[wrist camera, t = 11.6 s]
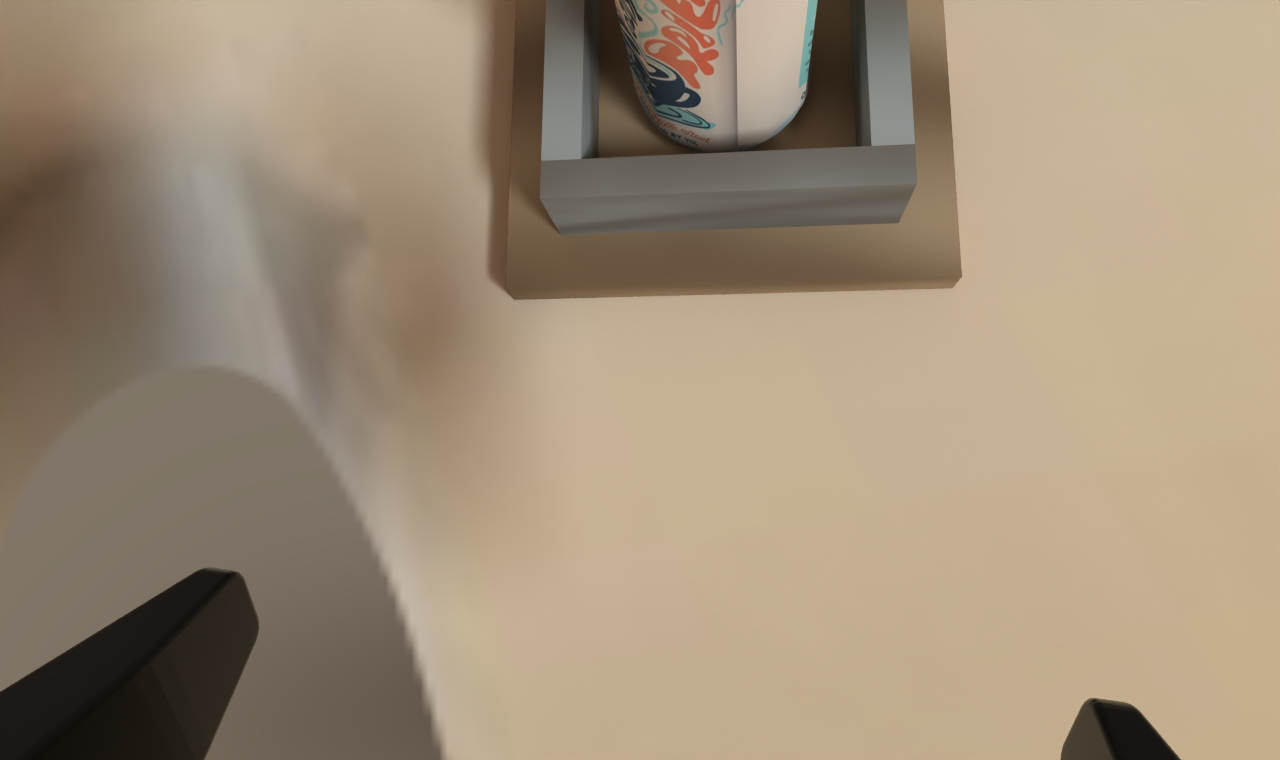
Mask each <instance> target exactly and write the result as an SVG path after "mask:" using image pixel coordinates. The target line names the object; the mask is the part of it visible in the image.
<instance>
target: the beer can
mask: <svg viewBox="0 0 1280 760" xmlns="http://www.w3.org/2000/svg"><path fill="white" fill-rule="evenodd" d="M817 1H818V0H615V4H616V8H617V13H618V17H619V21H620V25H621V30H622V34H623V38H624V43H625V47H626V51H627V56H628V60H629V64H630V68H631V73H632V77H633V81H634V86H635V90H636V93H637V96H638V99H639V101H640V103H641V106H642V108H643V110H644V112H645V114H646V115H647V117H648V118H649V119H650V121H651V122H652V123H653V125H654V126H655V127H656V129H658V130H659V131H660V132H661V133H662V134H663V135H665V136H666V137H667V138H669V139H670V140H672V141H674V142H676V143H677V144H680V145H683V146H685V147H688V148H691V149H694V150H696V151H702V152H710V153H725V152H736V151H741V150H745V149H748V148H751V147H754V146H756V145H758V144H761V143H763V142H765V141H767V140H768V139H770V138H771V137H773V136H775V135H776V134H778V133H779V132H780V131H781V130H782V129H783V128H785V127H786V126H787V125H788V124H789V123H790V122H791V121H792V120H793V118H794V117H795V115H796V114H797V112H798V111H799V109H800V108H801V106H802V105H803V103H804V101H805V98H806V96H807V93H808V90H809V84H810V78H811V73H812V66H811V47H812V39H813V32H814V24H815V16H816V9H817Z"/></svg>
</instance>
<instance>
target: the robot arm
mask: <svg viewBox="0 0 1280 760" xmlns="http://www.w3.org/2000/svg"><path fill="white" fill-rule="evenodd" d="M258 630H259V619H258V616H257V613H256V610H255V607H254V605H253V601H252V599H251V596H250V593H249V590H248V587H247V584H246V582H245V579H244V577H243V576H242V575H241V574H240V573H239V572H236V571H231V570H225V569H218V568H203V569H200V570H198V571H196V572H194V573H193V574H191V575H189V576H188V577H186V578H184V579H183V580H181V581H180V582H178V583H176V584H175V585H173V586H171V587H170V588H168V589H167V590H165V591H163V592H162V593H160V594H158V595H157V596H155V597H154V598H152V599H150V600H149V601H147V602H145V603H144V604H142V605H141V606H139V607H137V608H136V609H134V610H132V611H131V612H129V613H128V614H126V615H124V616H123V617H121V618H119V619H118V620H116V621H115V622H113V623H111V624H110V625H108V626H106V627H105V628H103V629H102V630H100V631H98V632H97V633H95V634H93V635H92V636H90V637H89V638H87V639H85V640H84V641H82V642H81V643H79V644H77V645H76V646H74V647H72V648H71V649H69V650H67V651H66V652H64V653H63V654H61V655H59V656H58V657H56V658H54V659H53V660H51V661H49V662H48V663H46V664H45V665H43V666H41V667H40V668H38V669H37V670H35V671H33V672H32V673H30V674H28V675H27V676H25V677H24V678H22V679H20V680H19V681H17V682H15V683H14V684H12V685H11V686H9V687H7V688H6V689H4V690H2V691H1V692H0V760H204V759H205V757H206V755H207V753H208V751H209V749H210V747H211V744H212V742H213V740H214V737H215V735H216V733H217V730H218V728H219V726H220V724H221V721H222V719H223V717H224V714H225V712H226V710H227V707H228V705H229V703H230V700H231V698H232V695H233V693H234V691H235V689H236V686H237V684H238V682H239V679H240V677H241V675H242V673H243V670H244V668H245V665H246V663H247V661H248V659H249V656H250V654H251V652H252V649H253V647H254V645H255V642H256V639H257V636H258ZM1061 760H1181V759H1180V758H1179V757H1178V756H1177V755H1176V753H1175V752H1174V751H1173V750H1172V749H1171V747H1170V746H1169V745H1168V744H1167V743H1166V741H1165V740H1164V739H1163V738H1162V737H1161V736H1160V734H1159V733H1158V732H1157V731H1156V730H1155V728H1154V727H1153V726H1152V725H1151V724H1150V722H1149V721H1148V720H1147V719H1146V718H1145V717H1144V715H1143V714H1142V713H1141V712H1140V711H1139V710H1138V709H1137V708H1135V707H1134V706H1132V705H1131V704H1128V703H1125V702H1118V701H1111V700H1105V699H1098V698H1090V699H1088V700H1087V701H1085V702H1084V704H1083V705H1082V707H1081V709H1080V711H1079V713H1078V715H1077V717H1076V719H1075V721H1074V724H1073V726H1072V728H1071V730H1070V732H1069V734H1068V736H1067V738H1066V740H1065V742H1064V745H1063V748H1062V753H1061Z"/></svg>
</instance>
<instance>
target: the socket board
mask: <svg viewBox="0 0 1280 760" xmlns="http://www.w3.org/2000/svg"><path fill="white" fill-rule="evenodd" d="M811 66H812V73H811V78H810V84H809V90H808V93H807V96H806V98H805V101H804V103H803V105H802V106H801V108H800V109H799V111H798V112H797V114H796V115H795V117H794V118H793V120H792V121H791V122H790V123H789V124H788V125H787V126H786V127H785V128H783V129H782V130H781V131H780V132H779V133H778V134H776V135H775V136H773V137H771V138H770V139H768V140H767V141H765V142H763V143H761V144H758V145H756V146H754V147H751V148H748V149H745V150H741V151H736V152H725V153H710V152H702V151H696V150H694V149H691V148H688V147H685V146H683V145H680V144H677V143H676V142H674V141H672V140H670V139H669V138H667V137H666V136H665V135H663V134H662V133H661V132H660V131H659V130H658V129H656V127H655V126H654V125H653V123H652V122H651V121H650V119H649V118H648V117H647V115H646V114H645V112H644V110H643V108H642V106H641V103H640V101H639V99H638V96H637V93H636V90H635V86H634V81H633V77H632V73H631V68H630V64H629V60H628V56H627V51H626V47H625V43H624V38H623V34H622V30H621V25H620V21H619V17H618V13H617V8H616V4H615V0H517V2H516V28H515V53H514V78H513V104H512V129H511V154H510V180H509V205H508V231H507V256H506V281H505V290H506V291H507V292H508V293H509V294H510V295H511V296H512V297H513V298H514V299H515V300H519V299H557V298H595V297H633V296H670V295H708V294H746V293H784V292H822V291H860V290H897V289H935V288H953V287H954V286H955V284H956V283H957V282H958V281H959V279H960V278H961V277H962V271H961V257H960V242H959V227H958V212H957V197H956V182H955V167H954V152H953V138H952V123H951V108H950V93H949V78H948V63H947V48H946V33H945V19H944V4H943V0H818V1H817V9H816V16H815V24H814V32H813V39H812V47H811Z"/></svg>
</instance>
